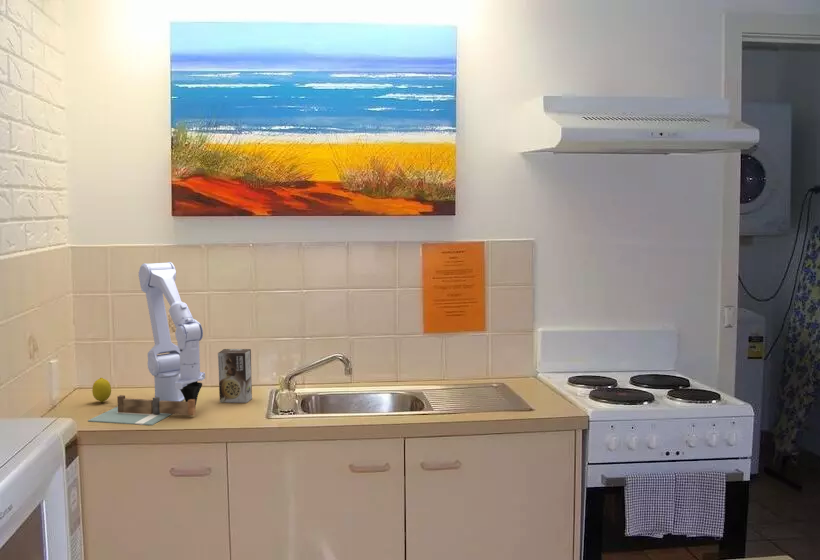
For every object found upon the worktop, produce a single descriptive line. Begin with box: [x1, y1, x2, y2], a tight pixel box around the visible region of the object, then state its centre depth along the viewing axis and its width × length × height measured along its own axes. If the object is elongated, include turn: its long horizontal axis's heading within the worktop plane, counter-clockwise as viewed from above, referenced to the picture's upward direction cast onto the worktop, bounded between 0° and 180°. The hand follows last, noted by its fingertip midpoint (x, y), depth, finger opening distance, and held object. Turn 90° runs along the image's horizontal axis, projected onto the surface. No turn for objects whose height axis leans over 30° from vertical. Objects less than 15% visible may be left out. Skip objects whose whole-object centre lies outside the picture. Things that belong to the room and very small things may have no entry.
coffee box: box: [217, 348, 253, 404], centre depth 255 cm, size 9×6×16 cm
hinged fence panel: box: [159, 399, 197, 416], centre depth 237 cm, size 11×2×4 cm, turn 79°
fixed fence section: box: [116, 394, 160, 415], centre depth 239 cm, size 13×2×5 cm, turn 79°
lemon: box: [91, 377, 112, 403], centre depth 252 cm, size 6×6×8 cm
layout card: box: [87, 406, 173, 426], centre depth 240 cm, size 20×20×1 cm
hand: (191, 407), depth 242 cm, fingers closed
